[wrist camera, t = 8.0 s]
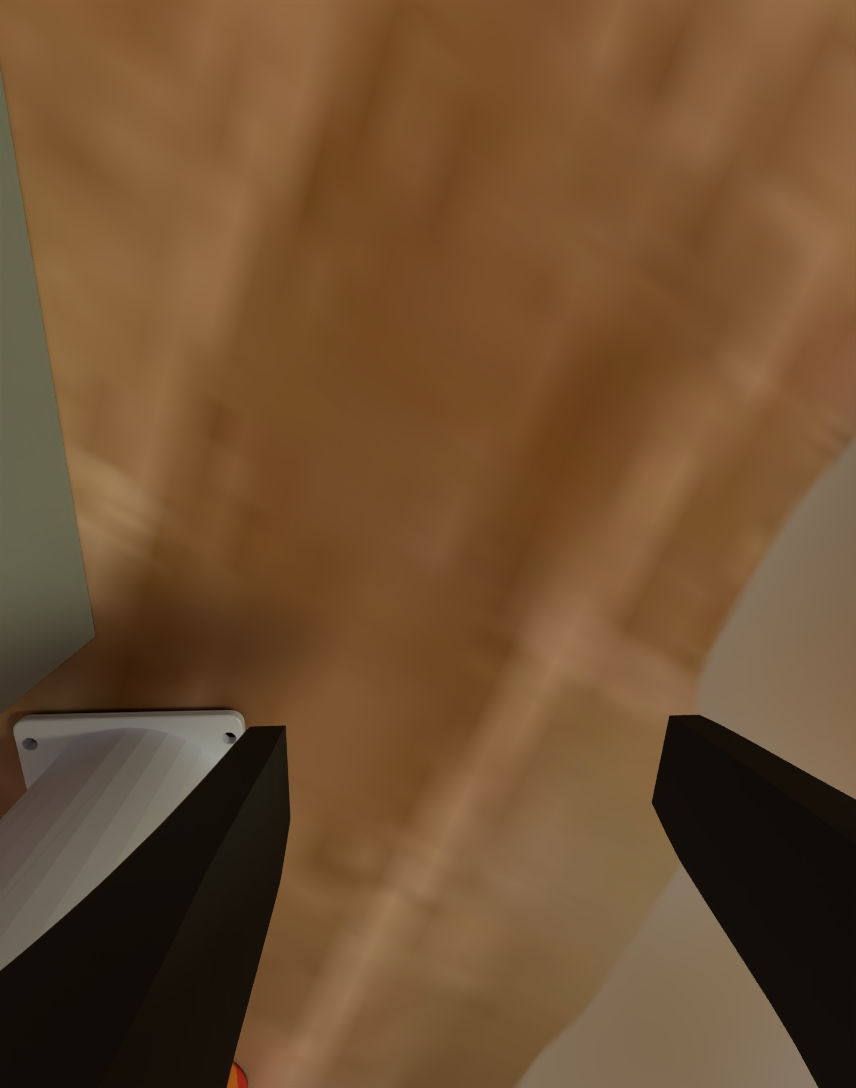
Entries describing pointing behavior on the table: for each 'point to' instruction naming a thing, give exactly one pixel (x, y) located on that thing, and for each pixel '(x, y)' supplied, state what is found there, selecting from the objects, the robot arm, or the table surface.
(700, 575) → the table surface
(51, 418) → the grey panel with window
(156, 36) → the table surface
